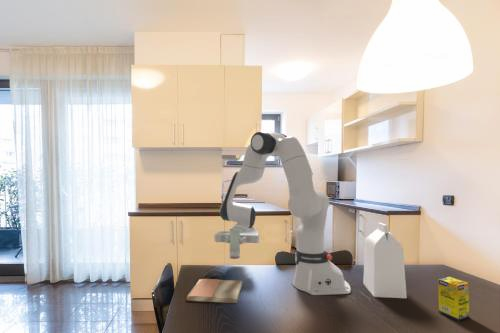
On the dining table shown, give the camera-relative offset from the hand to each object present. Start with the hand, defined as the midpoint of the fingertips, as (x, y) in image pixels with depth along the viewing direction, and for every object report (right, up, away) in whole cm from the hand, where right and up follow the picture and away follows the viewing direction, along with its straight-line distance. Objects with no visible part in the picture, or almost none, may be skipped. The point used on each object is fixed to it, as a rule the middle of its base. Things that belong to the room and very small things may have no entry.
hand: (234, 241), depth 112 cm
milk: (+59, -17, -10) cm, 62 cm away
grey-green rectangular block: (0, -7, +1) cm, 7 cm away
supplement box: (+73, -16, -28) cm, 79 cm away
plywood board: (-6, -16, -11) cm, 21 cm away
